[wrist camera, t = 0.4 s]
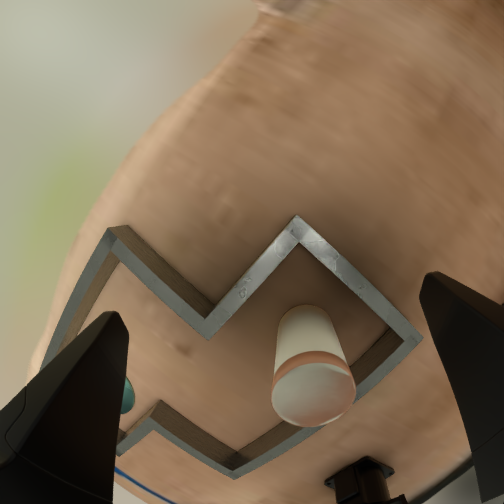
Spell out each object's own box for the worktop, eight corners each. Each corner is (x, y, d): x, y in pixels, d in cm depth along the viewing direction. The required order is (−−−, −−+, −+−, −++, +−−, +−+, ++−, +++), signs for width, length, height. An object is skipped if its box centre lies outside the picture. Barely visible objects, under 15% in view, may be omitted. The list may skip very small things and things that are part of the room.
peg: (344, 327, 22) (372, 391, 13) (305, 363, 22) (311, 437, 14) (304, 292, 22) (314, 345, 13) (265, 332, 22) (252, 399, 14)
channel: (409, 323, 21) (423, 337, 18) (193, 484, 27) (187, 500, 24) (196, 132, 21) (183, 122, 18) (50, 369, 27) (36, 379, 24)
